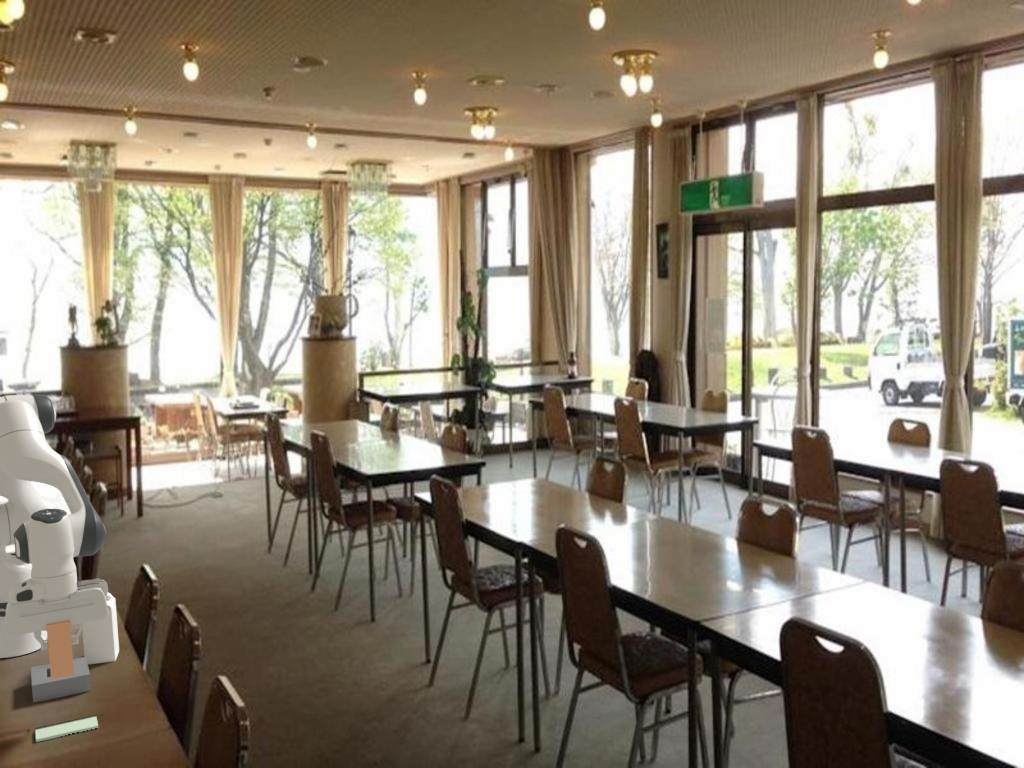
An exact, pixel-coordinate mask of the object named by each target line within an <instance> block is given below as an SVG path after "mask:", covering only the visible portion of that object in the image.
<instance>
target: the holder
mask: <svg viewBox="0 0 1024 768" xmlns="http://www.w3.org/2000/svg"><path fill="white" fill-rule="evenodd" d="M73 666H74V675H70V676H65V677H60V678H55V679H51V672H50V663H45V664H40V665H36V666H31V667H30V676H31V691H32V703H33V704H34V703H40V702H45V701H49V700H55V699H58V698H64V697H67V696H74V695H78V694H82V693H88V692H90V691H92V685H91V673H90V669H89V664H88V663H87V658H86V657H84V656H82V657H76V658H73Z"/></svg>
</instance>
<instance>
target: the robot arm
mask: <svg viewBox="0 0 1024 768" xmlns="http://www.w3.org/2000/svg"><path fill="white" fill-rule="evenodd" d="M56 418H57V410H56V408H55V406H54V404H53V401H52V399H51V398H50V397H48V396H47V395H46V394H41V393H40V394H39V393H32V394H9V395H3V396H0V496H1V497H3V498H5V499H7V502H4V503H0V659H4V658H5V659H6V658H14V657H19V656H23V655H26V654H30V653H33V652H35V651H38V650H40V651H43V652H44V651H47V650H48V651H49V648H48V637H47V625H48V624H53V623H59V622H65V621H70V627H73V626H75V629H76V631H75V633H74V634H71V641H72V646H73V645H74V646H75V645H79V643H80V642H79V641H80V640H79V637H80V635H81V633H82V632H83V631H82V629H83V623H89V622H94V621H100V620H105V619H106V618H107V616H108V607H107V602H106V598H105V596H106V595H107V593H109V586H108V585H109V584H108V583H107V581H106V580H104V579H100V578H97V577H96V578H93V579H84V580H83V579H82V580H78V576H77V575H78V574H77V566H76V563H75V561H74V558H76V557H80V558H81V557H90V556H95V554H96V553H98V552H99V551H100V550H101V548H102V547H103V546H104V545H105V543H106V540H107V539H106V537H107V535H106V528H105V525H104V522H103V521H102V518H101V516H100V515H99V513H98V512H97V511H96V509H95V507H94V506H93V504H92V503H91V500H90V498H89V496H88V495H87V493H86V490H85V488H84V487H83V484H82V482H81V480H80V479H79V477H78V475H77V473H76V471H75V469H74V467H73V465H72V464H71V461H70V460H69V459H68V458H67V457H66V455H62V454H60V453H58V452H56V451H55V449H53V448H52V447H51V446H50V445H49V443H48V441H47V439H46V436H45V435H46V434H48V433H50V432H51V431H52V430H53V429H54V427H55V425H56V424H55V423H56ZM32 482H35V483H41V484H44V485H48V486H51V487H53V488H55V489H57V490H58V491H59V492H60V493H61V496H62V497H63V499H64V501H65V503H66V505H67V507H68V509H69V511H70V513H71V514H69V513H68V512H67V511H65V510H63V509H61V508H59V507H58V506H57V504H56V503H55V502H53V501H52V500H51V499H48V498H45V497H44V496H43V495H41V494H40V493H39V492H38V491H37V490H36V489H35V487H34V486H33V483H32ZM12 545H14V548H15V549H14V553H15V554H11V553H8V552H7V551H6V548H7V547H8V546H12Z"/></svg>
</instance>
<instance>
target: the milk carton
mask: <svg viewBox="0 0 1024 768" xmlns="http://www.w3.org/2000/svg"><path fill="white" fill-rule="evenodd" d="M105 598H106V602H107V607H108V616H107V618H106V619H105V620H100V621H94V622H89V623H83V629H82V631H81V632H82V642H83V654H84V656H83V657H86V658H87V663H88V665H94V664H102V663H111V662H116V661H117V659H118V655H119V653H120V643H119V632H118V630H119V629H118V617H117V615H118V614H117V604H116V603H117V602H116V601H117V600H116V597H114V596H113V595H112V593H110V592H108V593H107V595H106V596H105Z"/></svg>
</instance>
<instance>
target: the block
mask: <svg viewBox="0 0 1024 768" xmlns="http://www.w3.org/2000/svg"><path fill="white" fill-rule="evenodd" d="M46 631H47V640H48V648H49V649H48V659H49V664H50V672H51V679H55V678H60V677H65V676H70V675H74V666H73V659H74V655H73V645H72V641H71V635H72V632H71V626H70V621H65V622H59V623H53V624H48V625H47V630H46Z"/></svg>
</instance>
